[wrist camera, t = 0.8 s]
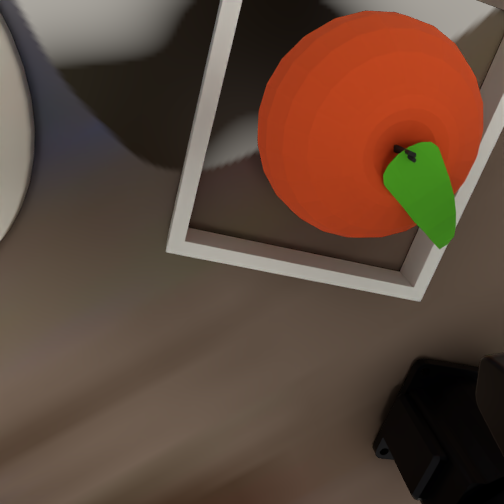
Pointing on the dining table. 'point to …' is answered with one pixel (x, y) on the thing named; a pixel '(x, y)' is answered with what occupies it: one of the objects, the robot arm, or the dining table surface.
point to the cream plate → (13, 131)
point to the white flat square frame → (298, 262)
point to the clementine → (372, 127)
